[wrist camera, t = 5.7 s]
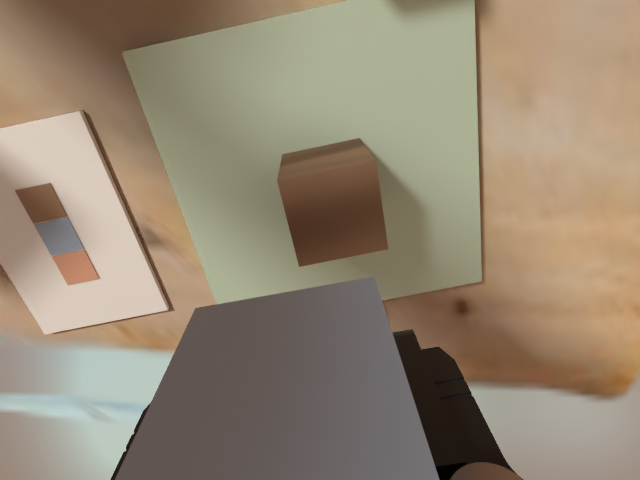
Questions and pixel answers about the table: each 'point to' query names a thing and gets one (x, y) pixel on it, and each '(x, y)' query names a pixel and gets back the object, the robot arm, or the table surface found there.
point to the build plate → (323, 138)
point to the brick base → (332, 202)
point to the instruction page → (69, 229)
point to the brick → (285, 395)
